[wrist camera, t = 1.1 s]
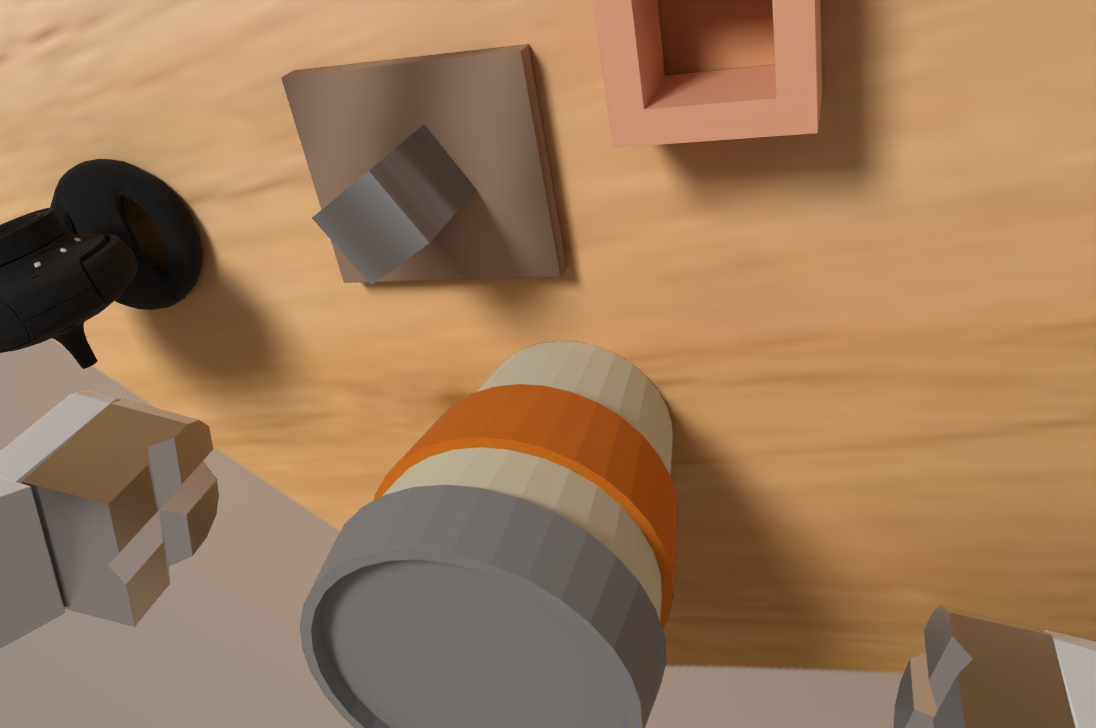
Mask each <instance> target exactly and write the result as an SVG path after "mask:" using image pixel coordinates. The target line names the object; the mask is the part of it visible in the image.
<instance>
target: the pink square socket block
mask: <svg viewBox="0 0 1096 728" xmlns="http://www.w3.org/2000/svg"><path fill="white" fill-rule="evenodd" d="M593 5H594V13H595V20H596V27H597V35H598V42H599V49H600V57H601V64H602V72H603V79H604V86H605V94H606V101H607V108H608V116H609V123H610V131H611V138H612V145H613V148H619V147H633V146H647V145H660V144H674V143H688V142H702V141H715V140H729V139H743V138H757V137H771V136H784V135H798V134H812V133H818V127H819V119H820V111H821V103H822V46H821V0H772V5H773V27H774V50H775V65H767V66H757V67H746V68H736V69H726V70H715V71H705V72H694V73H684V74H674V75H665V69H664V60H663V50H662V40H661V30H660V21H659V11H658V1H657V0H593Z"/></svg>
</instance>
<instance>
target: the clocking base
mask: <svg viewBox="0 0 1096 728" xmlns="http://www.w3.org/2000/svg"><path fill="white" fill-rule="evenodd" d="M281 78H282V82H283V85H284V88H285V91H286V95H287V98H288V101H289V105H290V108H291V111H292V114H293V118H294V121H295V124H296V127H297V131H298V134H299V137H300V140H301V144H302V147H303V150H304V154H305V157H306V160H307V163H308V167H309V170H310V173H311V176H312V180H313V183H314V186H315V189H316V193H317V196H318V199H319V203H320V206H321V209H322V210H321V211H320V212H318V213H317V214H316V215H315V216H314V217H312V219H313V220H314V221H315V222H316V223H317V224H318V225H319V227H320V228H321V229H322V230H323V231H324V232H325V233H326V235H327V236H328V237H329V238H330V239H331V242H332V245H333V248H334V252H335V255H336V258H337V261H338V265H339V268H340V271H341V274H342V278H343V281H344V283H352V282H369V283H370V285H373V284H374V283H375V282H388V281H424V280H459V279H495V278H531V277H561V275H562V273H563V271H564V270H565V268H566V266H567V264H566V259H565V253H564V247H563V241H562V235H561V229H560V224H559V218H558V212H557V206H556V200H555V195H554V189H553V183H552V177H551V171H550V165H549V160H548V154H547V148H546V142H545V136H544V131H543V125H542V119H541V113H540V107H539V101H538V96H537V90H536V84H535V78H534V72H533V67H532V61H531V55H530V49H529V44H527V45H518V46H509V47H500V48H491V49H482V50H473V51H464V52H455V53H446V54H437V55H428V56H420V57H411V58H402V59H393V60H384V61H375V62H366V63H357V64H348V65H339V66H330V67H321V68H312V69H304V70H295V71H292V72H290V73H289V74H287V75H285V76H283V77H281Z"/></svg>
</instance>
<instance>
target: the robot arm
mask: <svg viewBox="0 0 1096 728" xmlns="http://www.w3.org/2000/svg"><path fill="white" fill-rule="evenodd" d="M212 450H213V445H212V440H211V434H210V429H209V426H208V425H206V424H205V423H203V422H202V421H200V420H197V419H194V418H190V417H186V416H183V415H179V414H176V413H172V412H168V411H165V410H161V409H158V408H154V407H150V406H147V405H143V404H139V403H136V402H132V401H129V400H120V399H117V398H114V397H110V396H107V395H103V394H100V393H96V392H93V391H90V390H83V391H78V392H74V393H71V394H70V395H69V396H68V397H66V398H65V399H64V400H63V401H62V402H60V403H59V404H58V405H57V406H55V407H54V408H53V409H52V410H50V411H49V412H48V413H47V414H46V415H44V416H43V417H42V418H41V419H39V420H38V421H37V422H36V423H34V424H33V425H32V426H31V427H30V428H28V429H27V430H26V431H25V432H23V433H22V434H21V435H20V436H19V437H17V438H16V439H15V440H14V441H12V442H11V443H10V444H9V445H8V446H7V447H5V448H4V449H3V450H1V451H0V648H2V647H4V646H6V645H8V644H10V643H11V642H13V641H15V640H17V639H19V638H20V637H22V636H24V635H26V634H28V633H30V632H31V631H33V630H35V629H37V628H39V627H41V626H42V625H44V624H46V623H48V622H50V621H51V620H53V619H55V618H57V617H59V616H60V615H62V614H64V613H65V610H64V609H68V610H72V611H76V612H80V613H83V614H87V615H91V616H95V617H99V618H102V619H106V620H110V621H114V622H118V623H122V624H126V625H129V626H133V627H135V626H136V625H137V623H138V622H139V621H140V620H141V619H142V617H143V616H144V615H145V614H146V612H147V611H148V610H149V609H150V608H151V606H152V605H153V604H154V603H155V601H156V600H157V599H158V598H159V597H160V595H161V594H162V593H163V592H164V590H165V589H166V588H167V587H168V586H169V584H170V576H169V566H171V565H173V564H176V563H178V562H180V561H182V560H185V559H187V558H189V557H191V556H193V555H194V553H195V552H196V551H197V549H198V548H199V547H200V546H201V544H202V543H203V542H204V540H205V539H206V538H207V535H208V533H209V531H210V528H211V526H212V524H213V521H214V519H215V516H216V513H217V505H218V498H219V494H218V484H217V478H216V477H215V476H214V475H213V474H212V472H211V471H210V469H209V468H208V467H207V466H206V464H205V463H204V462H203V460H204V459H205V458H206V457H207V456H208V454H209V453H210V452H211V451H212ZM924 636H925V646H926V652H924V653H922V654H920V655H918V656H916V657H914V658H911V659H910V660H909V663H908V665H907V667H906V670H905V672H904V674H903V677H902V679H901V682H900V686H899V691H898V695H897V699H896V704H895V715H894V728H1096V642H1095V641H1091V640H1086V639H1082V638H1078V637H1074V636H1069V635H1065V634H1061V633H1057V632H1052V631H1048V630H1043V631H1042V630H1040V629H1037V628H1033V627H1029V626H1025V625H1021V624H1017V623H1013V622H1008V621H1004V620H1000V619H996V618H992V617H988V616H984V615H979V614H975V613H971V612H967V611H963V610H959V609H955V608H951V607H946V606H942V605H940V606H939V607H938V608H937V609H936V610H935V611H934V612H933V613H932V615H931V617H930V619H929V621H928V623H927V625H926V627H925V629H924Z"/></svg>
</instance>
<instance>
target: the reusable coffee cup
mask: <svg viewBox="0 0 1096 728" xmlns="http://www.w3.org/2000/svg"><path fill="white" fill-rule="evenodd" d="M672 446H673V430H672V421H671V418H670V414H669V411H668V407H667V406H666V404H665V402H664V400H663V398H662V396H661V394H660V392H659V391H658V390H657V388H656V387H655V386H654V385H653V384H652V382H651V381H650V380H649V379H648V377H647V376H645V375H644V374H643V373H642V372H641V371H640V370H639V369H637V368H636V367H635V366H634V365H633V364H631V363H630V362H628V361H626V360H625V359H623V358H621V357H620V356H618V355H616V354H614V353H612V352H610V351H607V350H605V349H602V348H600V347H597V346H593V345H589V344H584V343H580V342H568V341H554V342H546V343H539V344H536V345H533V346H530V347H528V348H525V349H522V350H521V351H519V352H517V353H516V354H514V355H512V356H511V357H509V358H508V359H507V360H506V361H505V362H504V363H503V364H502V365H501V366H500V367H499V368H498V369H497V370H496V371H495V372H494V373H493V374H492V376H491V377H490V378H489V379H488V380H487V381H486V382H485V383H484V384H483V385H482V387H481V388H480V389H479V390H478V391H477V392H476V393H473V394H470V395H469V396H467V397H465V398H464V399H462V400H460V401H458V402H457V403H455V404H453V405H452V406H451V407H450V408H449V409H448V410H447V411H446V412H445V413H444V414H443V415H442V416H441V417H440V418H439V419H438V420H437V421H436V422H435V423H434V424H433V425H432V427H431V428H430V429H429V430H428V431H427V432H426V433H425V434H424V435H423V436H422V437H421V438H420V439H419V440H418V442H417V443H416V444H415V445H414V446H413V447H412V448H411V449H410V450H409V451H408V452H407V453H406V454H405V456H404V457H403V458H402V459H401V460H400V461H399V462H398V463H397V464H396V465H395V466H394V467H393V468H392V469H391V471H390V472H389V473H388V474H387V475H386V476H385V478H384V480H383V481H382V483H381V485H380V487H379V488H378V490H377V492H376V494H375V497H374V501H373V502H371V503H369V504H367V505H365V506H364V507H362V508H361V509H360V510H359V511H358V512H357V513H356V514H355V515H354V516H353V517H352V518H350V519H349V520H348V521H347V522H346V523H345V524H344V526H343V528H342V530H341V532H340V533H339V536H338V537H337V539H336V541H335V543H334V545H333V546H332V549H331V551H330V553H329V555H328V557H327V559H326V561H325V563H324V565H323V567H322V569H321V571H320V573H319V575H318V577H317V579H316V581H315V583H314V585H313V587H312V589H311V591H310V593H309V595H308V597H307V599H306V601H305V603H304V606H303V611H302V617H301V622H300V631H301V641H302V648H303V651H304V654H305V657H306V660H307V663H308V666H309V669H310V671H311V673H312V675H313V676H314V678H315V680H316V681H317V683H318V685H319V686H320V688H321V690H322V692H323V693H324V695H325V696H326V697H327V698H328V700H329V701H330V702H331V703H332V705H333V706H334V707H335V708H336V709H337V711H338V712H339V713H340V714H341V715H342V716H343V717H344V718H345V719H346V720H347V721H348V722H349V723H350V724H351V725H352V726H353V727H354V728H645V726H646V724H647V721H648V718H649V715H650V712H651V710H652V707H653V704H654V702H655V699H656V696H657V693H658V691H659V688H660V685H661V681H662V677H663V673H664V669H665V665H666V648H665V635H664V632H663V629H662V628H663V627H664V625H665V623H666V621H667V619H668V617H669V613H670V608H671V604H672V599H673V591H674V573H675V556H676V539H677V521H678V514H677V496H676V493H675V490H674V486H673V483H672V480H671V476H670V474H671V460H672Z"/></svg>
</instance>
